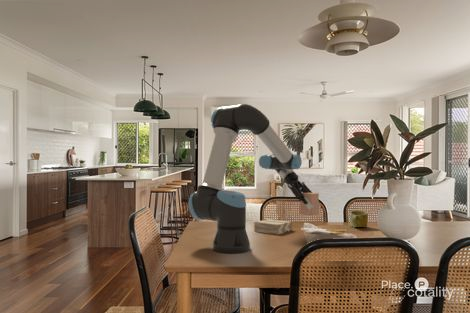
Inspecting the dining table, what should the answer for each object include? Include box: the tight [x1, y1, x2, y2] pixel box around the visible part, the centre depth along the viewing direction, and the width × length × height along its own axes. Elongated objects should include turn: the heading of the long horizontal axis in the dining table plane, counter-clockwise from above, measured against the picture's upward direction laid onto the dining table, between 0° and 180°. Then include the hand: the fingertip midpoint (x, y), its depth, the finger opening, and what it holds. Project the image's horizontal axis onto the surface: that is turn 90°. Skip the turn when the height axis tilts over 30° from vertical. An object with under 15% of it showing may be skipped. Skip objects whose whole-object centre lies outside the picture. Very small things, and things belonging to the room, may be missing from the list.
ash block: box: [253, 218, 293, 235], centre depth 182 cm, size 14×14×5 cm
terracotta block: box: [299, 192, 320, 216], centre depth 184 cm, size 7×7×11 cm
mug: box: [349, 210, 369, 228], centre depth 192 cm, size 12×10×10 cm
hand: (315, 207), depth 182 cm, fingers closed on terracotta block, 7 cm apart
